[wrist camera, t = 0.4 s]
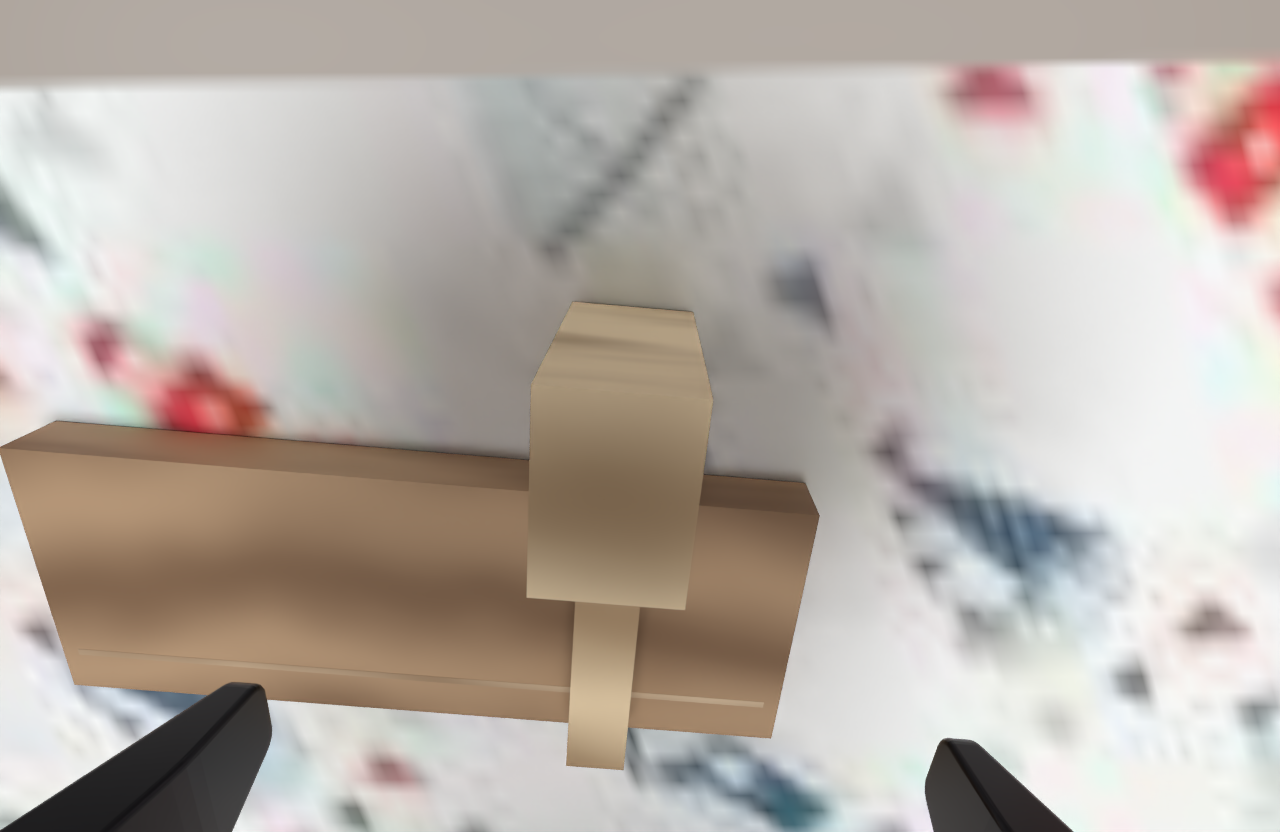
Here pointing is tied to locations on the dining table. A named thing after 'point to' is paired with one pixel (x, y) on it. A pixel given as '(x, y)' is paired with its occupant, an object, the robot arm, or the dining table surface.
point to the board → (380, 579)
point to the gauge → (614, 495)
